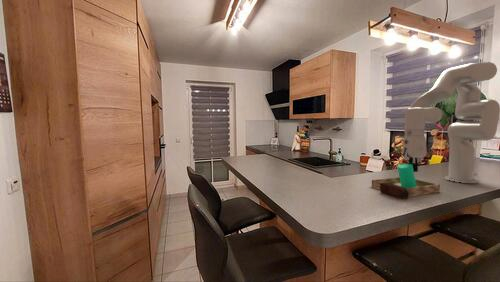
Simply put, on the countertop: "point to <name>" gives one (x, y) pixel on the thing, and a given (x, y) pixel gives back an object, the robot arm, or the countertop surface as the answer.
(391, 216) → the countertop surface
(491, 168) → the countertop surface
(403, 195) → the brick
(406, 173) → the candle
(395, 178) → the tray
